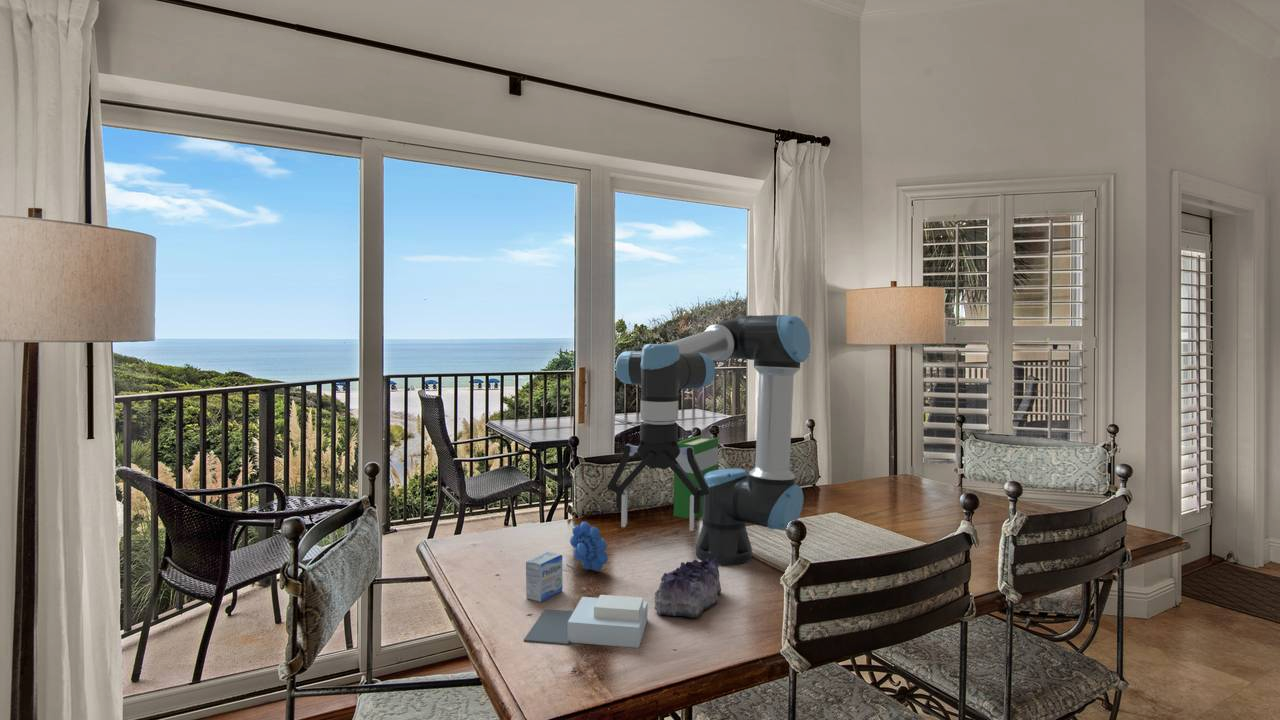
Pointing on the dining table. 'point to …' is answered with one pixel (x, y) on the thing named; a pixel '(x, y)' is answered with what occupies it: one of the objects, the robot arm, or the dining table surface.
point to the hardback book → (707, 462)
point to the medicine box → (544, 576)
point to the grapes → (589, 546)
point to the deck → (604, 627)
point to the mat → (550, 627)
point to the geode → (689, 589)
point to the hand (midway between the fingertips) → (657, 527)
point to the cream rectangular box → (618, 607)
